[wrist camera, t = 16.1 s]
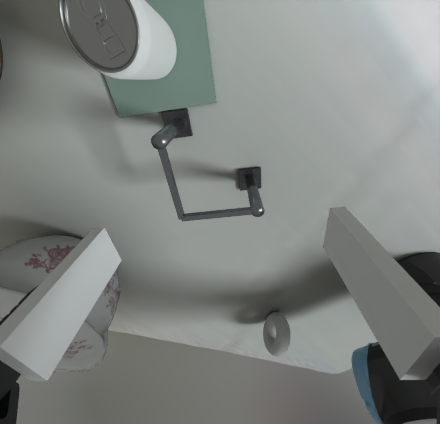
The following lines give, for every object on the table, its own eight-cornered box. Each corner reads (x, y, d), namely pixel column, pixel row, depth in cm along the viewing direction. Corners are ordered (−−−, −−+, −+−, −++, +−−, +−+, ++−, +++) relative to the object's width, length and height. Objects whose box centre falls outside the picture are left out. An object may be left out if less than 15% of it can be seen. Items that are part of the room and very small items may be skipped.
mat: (196, -51, 21) (195, -55, 20) (216, 102, 28) (216, 103, 28) (70, -23, 22) (66, -25, 22) (121, 116, 30) (119, 117, 29)
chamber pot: (-1, 193, 37) (-198, 292, 20) (148, 234, 42) (94, 344, 25) (24, 283, 52) (-77, 386, 35) (132, 307, 56) (92, 408, 39)
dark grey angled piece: (258, 97, 28) (272, 106, 19) (260, 186, 35) (272, 221, 27) (162, 112, 29) (136, 126, 20) (184, 195, 37) (171, 231, 28)
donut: (269, 324, 60) (276, 364, 51) (258, 322, 59) (264, 362, 51) (286, 306, 55) (298, 347, 46) (275, 303, 54) (284, 344, 46)
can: (159, -2, 22) (105, -68, 12) (186, 65, 26) (161, 55, 16) (112, 29, 24) (30, -8, 14) (143, 88, 27) (95, 93, 17)
